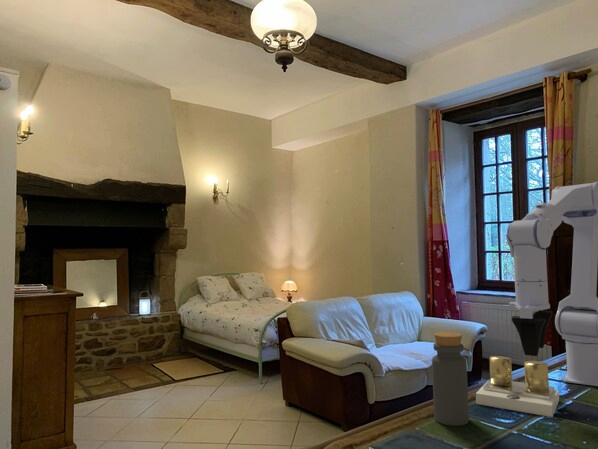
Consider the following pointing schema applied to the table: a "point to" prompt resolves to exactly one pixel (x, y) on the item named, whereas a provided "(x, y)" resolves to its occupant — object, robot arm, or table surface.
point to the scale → (518, 402)
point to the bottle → (450, 380)
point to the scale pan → (518, 390)
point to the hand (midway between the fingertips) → (534, 351)
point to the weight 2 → (536, 376)
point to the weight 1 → (500, 371)
